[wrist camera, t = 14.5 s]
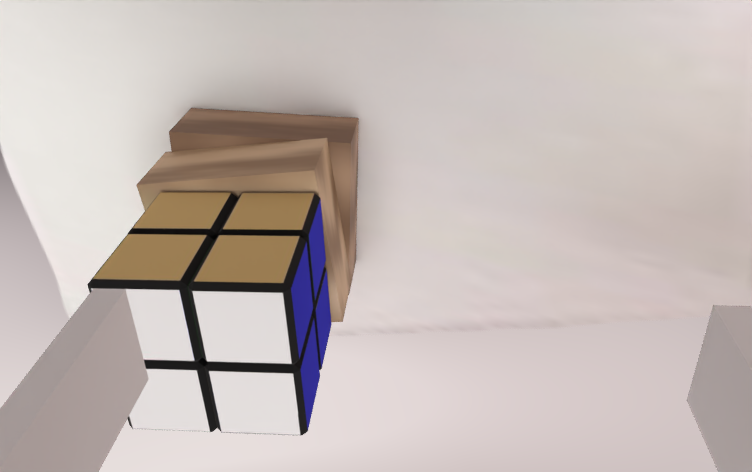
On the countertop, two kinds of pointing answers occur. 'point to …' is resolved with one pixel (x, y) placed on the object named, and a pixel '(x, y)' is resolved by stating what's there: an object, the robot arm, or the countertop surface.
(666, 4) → the countertop surface
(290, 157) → the tower top
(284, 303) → the puzzle cube
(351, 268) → the tower base
